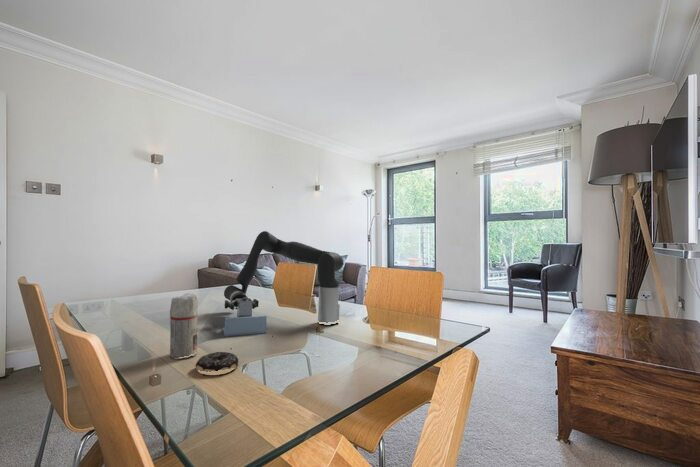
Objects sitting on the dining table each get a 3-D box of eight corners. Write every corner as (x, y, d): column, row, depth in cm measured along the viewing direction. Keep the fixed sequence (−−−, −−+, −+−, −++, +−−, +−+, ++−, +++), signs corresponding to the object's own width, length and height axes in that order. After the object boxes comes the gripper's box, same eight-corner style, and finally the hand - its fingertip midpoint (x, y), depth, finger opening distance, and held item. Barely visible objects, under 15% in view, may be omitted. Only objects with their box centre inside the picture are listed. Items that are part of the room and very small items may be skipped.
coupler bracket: (261, 326, 146) (262, 311, 146) (265, 332, 137) (266, 316, 137) (222, 329, 139) (223, 313, 139) (224, 336, 130) (225, 318, 130)
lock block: (248, 326, 143) (250, 295, 143) (251, 330, 137) (252, 297, 137) (236, 327, 141) (237, 295, 141) (238, 331, 135) (239, 298, 135)
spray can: (185, 361, 103) (188, 297, 103) (162, 358, 105) (165, 295, 105) (202, 352, 111) (205, 293, 112) (181, 350, 113) (184, 291, 113)
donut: (208, 361, 105) (209, 348, 105) (244, 364, 103) (245, 351, 103) (188, 375, 94) (188, 361, 94) (228, 379, 92) (228, 364, 92)
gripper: (223, 292, 153) (226, 298, 139) (254, 291, 159) (261, 297, 145) (222, 308, 153) (225, 316, 138) (254, 307, 159) (260, 314, 145)
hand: (243, 307), depth 142 cm, fingers open, 8 cm apart
